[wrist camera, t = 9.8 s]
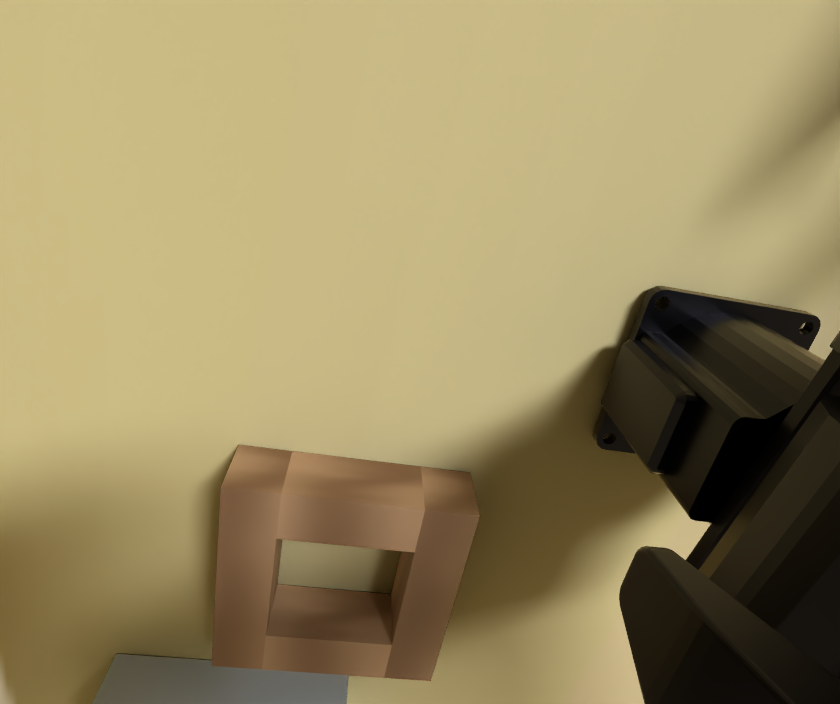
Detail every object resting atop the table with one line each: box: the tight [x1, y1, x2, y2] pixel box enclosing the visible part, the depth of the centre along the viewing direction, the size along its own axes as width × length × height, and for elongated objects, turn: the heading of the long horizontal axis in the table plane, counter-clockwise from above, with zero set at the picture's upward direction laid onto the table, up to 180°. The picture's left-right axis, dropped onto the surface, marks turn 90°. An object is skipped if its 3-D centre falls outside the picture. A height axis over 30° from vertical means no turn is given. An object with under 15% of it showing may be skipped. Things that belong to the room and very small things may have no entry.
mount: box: [212, 445, 480, 681], centre depth 22 cm, size 9×9×2 cm
